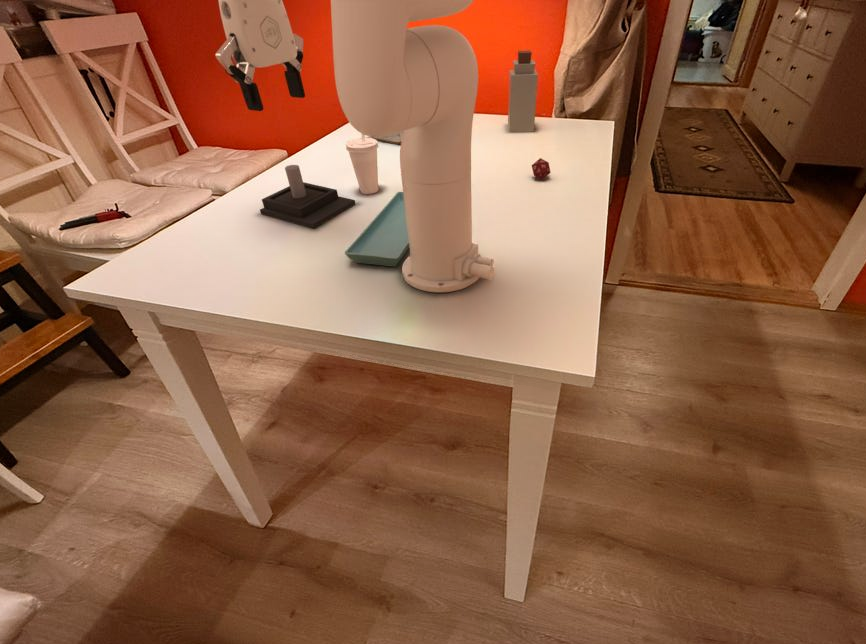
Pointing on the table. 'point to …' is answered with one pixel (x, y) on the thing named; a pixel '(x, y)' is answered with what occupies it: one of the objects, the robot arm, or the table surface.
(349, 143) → the smoothie
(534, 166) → the dice
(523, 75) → the perfume bottle
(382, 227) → the teal serving tray
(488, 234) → the table surface
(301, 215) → the base pad
